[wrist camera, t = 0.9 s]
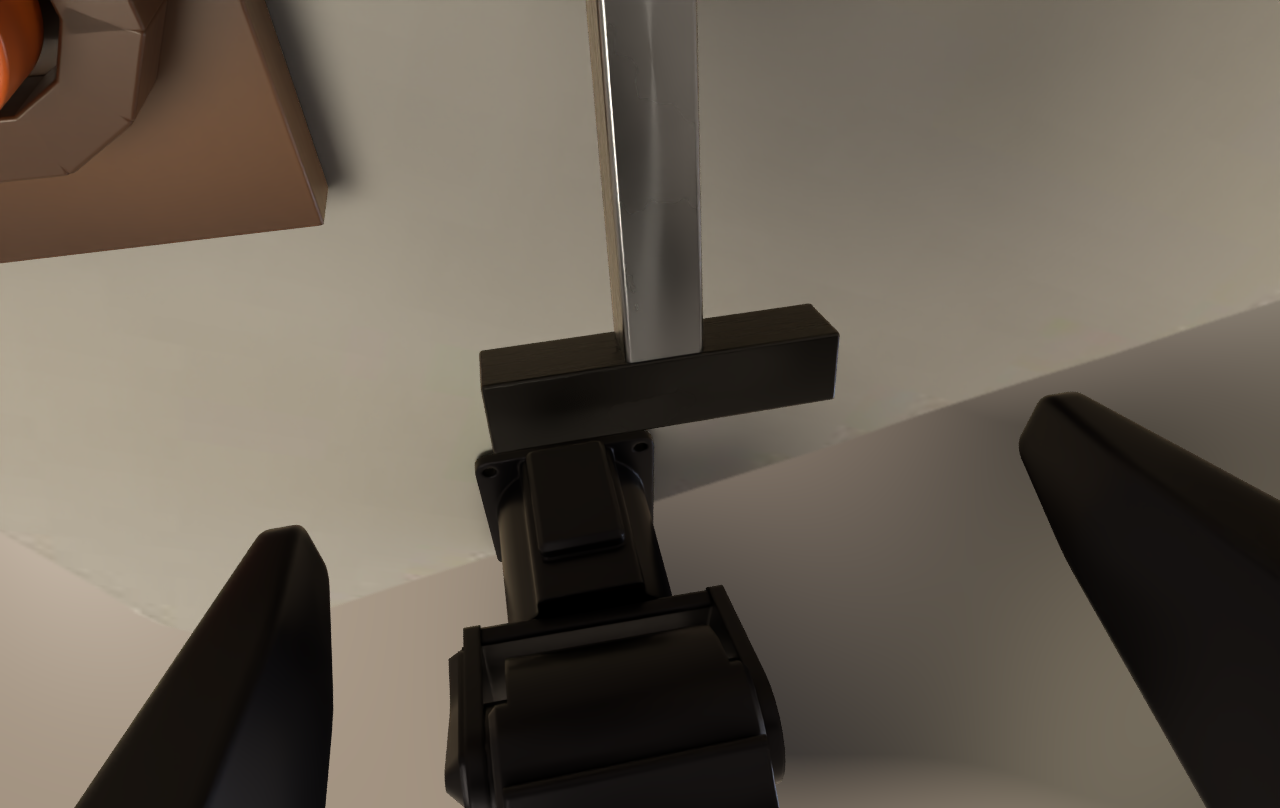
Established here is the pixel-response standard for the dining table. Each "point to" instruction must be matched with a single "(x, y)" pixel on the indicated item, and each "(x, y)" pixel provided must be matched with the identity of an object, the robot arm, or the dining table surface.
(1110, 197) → the dining table surface
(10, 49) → the button
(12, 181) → the button block
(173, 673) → the robot arm
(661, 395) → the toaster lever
